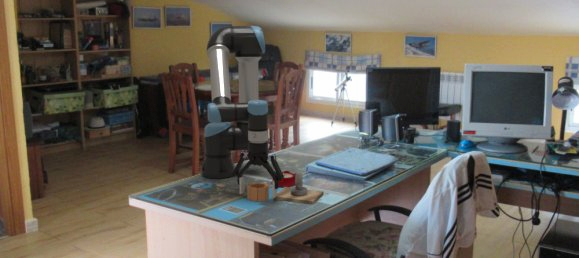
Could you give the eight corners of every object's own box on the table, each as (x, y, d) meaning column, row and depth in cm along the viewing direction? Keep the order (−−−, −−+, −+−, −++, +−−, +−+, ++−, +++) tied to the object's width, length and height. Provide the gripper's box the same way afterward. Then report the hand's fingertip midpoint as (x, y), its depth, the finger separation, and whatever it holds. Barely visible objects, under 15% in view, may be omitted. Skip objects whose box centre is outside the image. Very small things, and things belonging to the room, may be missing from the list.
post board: (273, 199, 222) (273, 176, 220) (285, 189, 233) (285, 167, 232) (312, 204, 216) (313, 180, 214) (323, 194, 228) (323, 171, 226)
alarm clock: (264, 176, 239) (286, 162, 250) (266, 190, 242) (288, 175, 252) (283, 181, 233) (305, 166, 244) (286, 195, 235) (307, 179, 246)
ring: (244, 199, 221) (244, 187, 220) (253, 194, 228) (253, 181, 227) (263, 202, 218) (263, 189, 217) (271, 196, 225) (271, 184, 224)
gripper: (223, 140, 219) (224, 194, 223) (285, 145, 211) (284, 201, 214) (232, 137, 226) (233, 189, 230) (292, 141, 217) (292, 195, 221)
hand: (258, 195), depth 222 cm, fingers open, 13 cm apart
